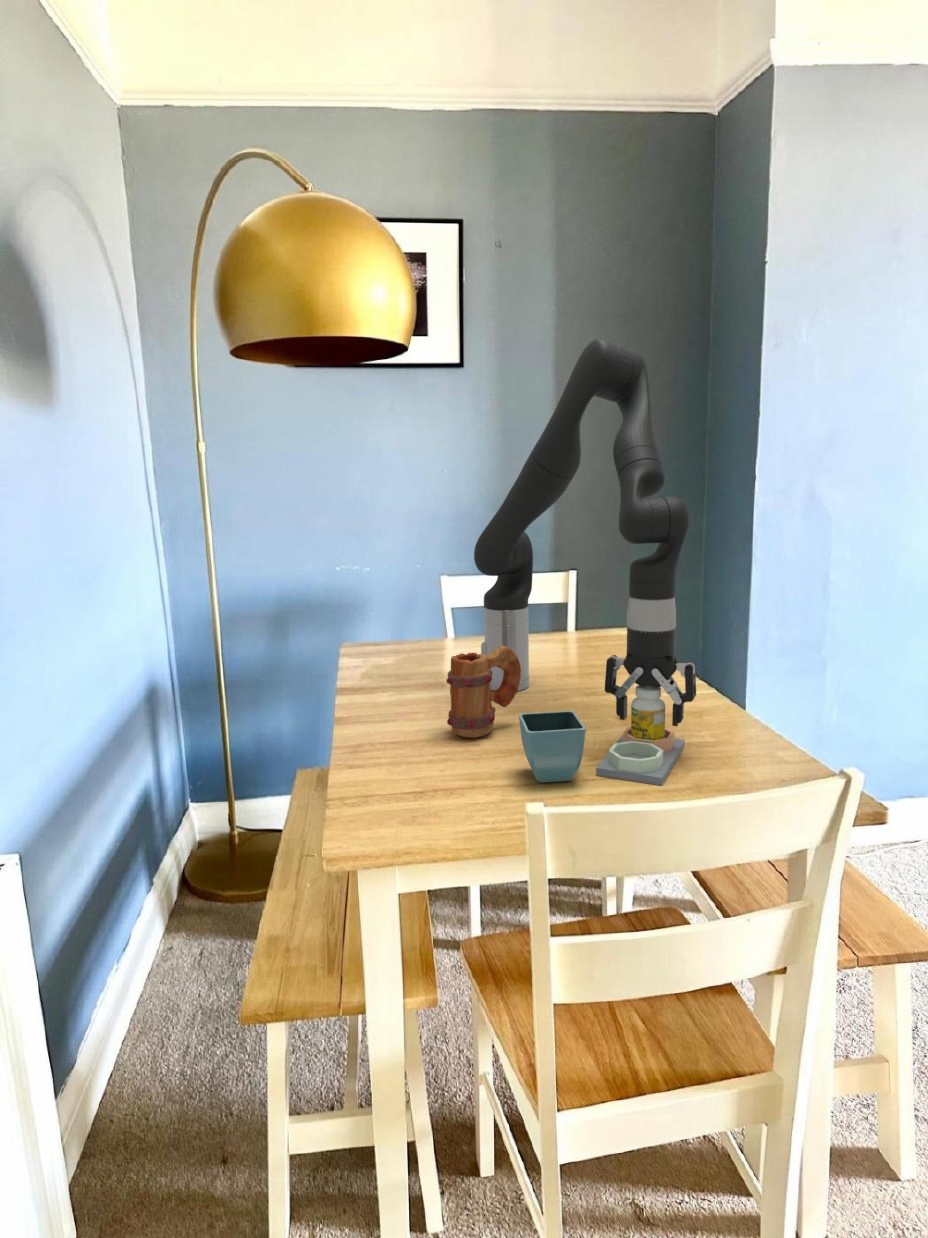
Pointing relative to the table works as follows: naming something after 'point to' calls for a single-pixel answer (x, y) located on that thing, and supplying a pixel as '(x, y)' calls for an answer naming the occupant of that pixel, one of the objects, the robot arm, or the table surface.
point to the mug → (480, 690)
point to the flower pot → (553, 744)
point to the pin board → (641, 758)
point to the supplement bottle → (648, 714)
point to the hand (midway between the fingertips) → (649, 721)
